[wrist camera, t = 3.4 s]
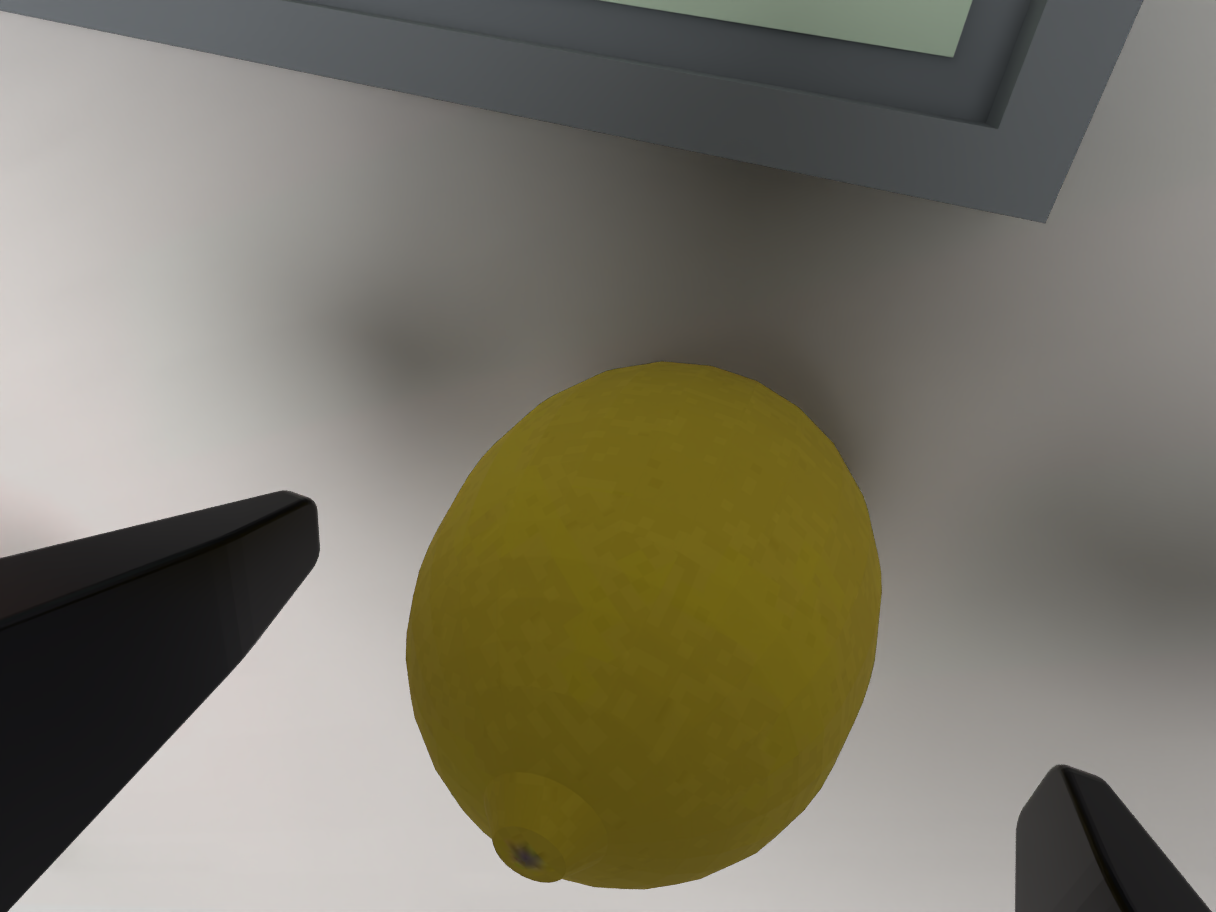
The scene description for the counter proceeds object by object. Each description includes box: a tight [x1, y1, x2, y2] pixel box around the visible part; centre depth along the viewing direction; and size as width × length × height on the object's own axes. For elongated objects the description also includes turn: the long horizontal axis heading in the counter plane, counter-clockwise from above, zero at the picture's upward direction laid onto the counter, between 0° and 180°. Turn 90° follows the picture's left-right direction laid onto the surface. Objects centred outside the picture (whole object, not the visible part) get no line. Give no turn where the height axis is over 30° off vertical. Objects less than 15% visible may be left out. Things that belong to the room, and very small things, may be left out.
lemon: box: [406, 361, 882, 889], centre depth 10 cm, size 6×6×8 cm
